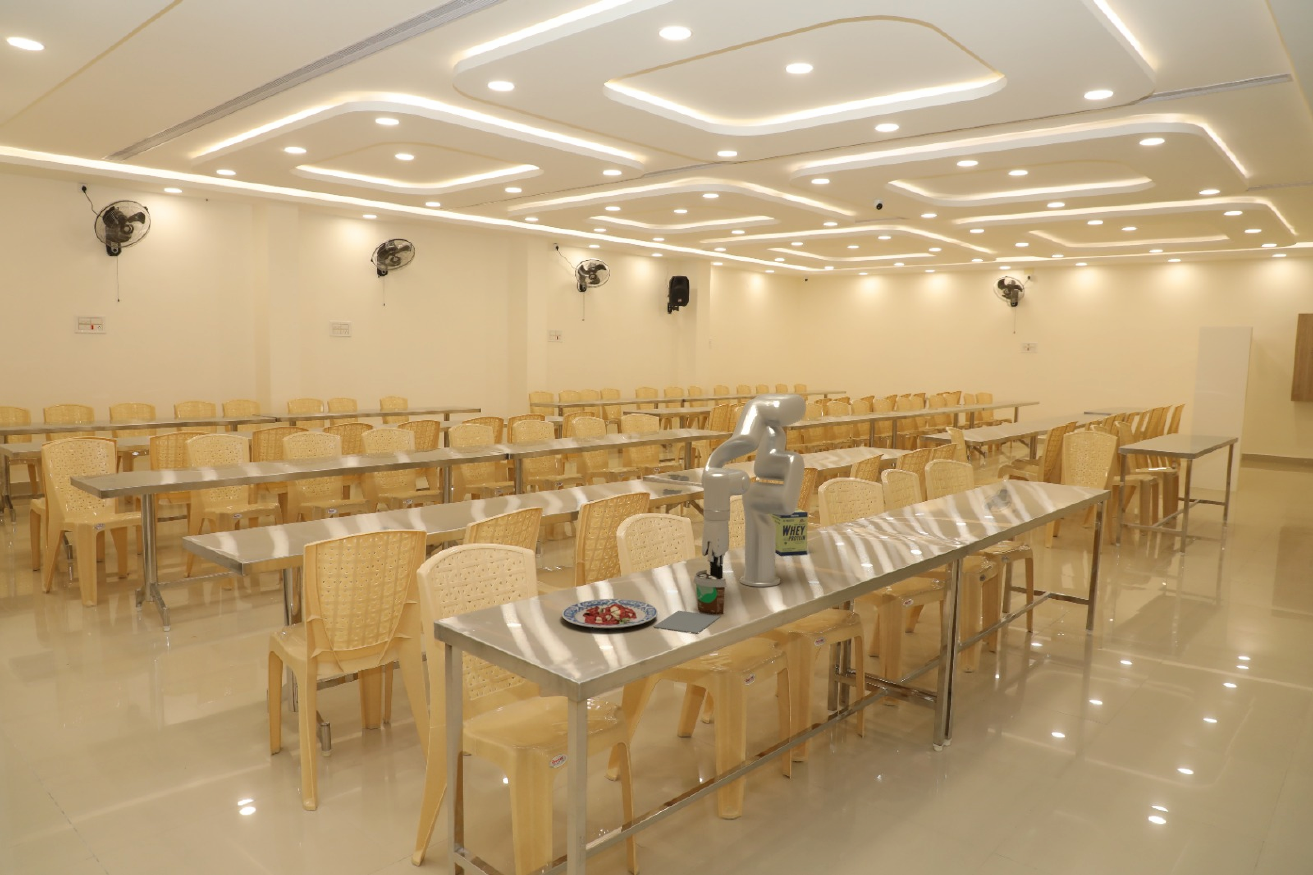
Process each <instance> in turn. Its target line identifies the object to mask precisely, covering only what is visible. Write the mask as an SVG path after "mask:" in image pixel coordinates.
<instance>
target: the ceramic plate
mask: <svg viewBox="0 0 1313 875" xmlns="http://www.w3.org/2000/svg"><path fill="white" fill-rule="evenodd" d="M658 612H659V611H658V609H657V608H656V607H655V606H654V605H651V604H649V603H646V602H644V601H639V600H633V599H628V598H627V599H625V598H600V599H591V600H585V601H581V602H577V603H574V604H571V605H569V606H567V607H566V608H564V609H563V610H562V612H561V617H562V618H563V619H564V620H566V621H567V622H568V623H570V624H573V625H578V626H581V627H587V628H592V627H593V629H607V630H612V629H613V630H614V629H624V628H628V627H632V626H637V625H638V626H639V625H642V624H644V623H647V622H650V621H652V620H654V619H655V618H656V617H657V616H658Z"/></svg>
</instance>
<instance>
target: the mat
mask: <svg viewBox="0 0 1313 875" xmlns="http://www.w3.org/2000/svg"><path fill="white" fill-rule="evenodd" d="M720 618H721V616H720V615H717V614H705V613H702V612H700V613H699V612H694V611H693V612H692V611H686V610H677V611H676V612H674V613H672V614H670V615H669V616H668V617H666V618H664V619H663V620H661V621H660V622H658V623H656V624H654V626H653V627H654V629H659V628H661V629H662V630H666V629H668V631H673V630H674V631H675V632H681V633H687V632H691V633H690V634H694V633H698V632H700V633H701V632H703V631H704V630H705V629H706V628H708V627H709V626H710V624H711V623H712V624H713V623H715V622H716V621H718V620H719V619H720ZM712 624H711V625H712ZM703 629H704V630H703ZM698 634H699V633H698Z"/></svg>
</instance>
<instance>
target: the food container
mask: <svg viewBox="0 0 1313 875" xmlns="http://www.w3.org/2000/svg"><path fill="white" fill-rule="evenodd" d="M693 583H694V584H695V587H696V600H697V601H696V602H697V611H698V612H700V613H701V614H708V615H723V614H724V613H725V612H724V610H725V609H724V608H725V595H726V594H725V592H726V587H727V583H726V578H722V579H718V578H717V577H716V576H712V575H710V573H708V570H707V569H703V570H700V571H699V570H698V572H696V573H695V575H694V578H693Z"/></svg>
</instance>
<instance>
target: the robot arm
mask: <svg viewBox="0 0 1313 875" xmlns="http://www.w3.org/2000/svg"><path fill="white" fill-rule="evenodd" d="M806 411H807V404H806V401H805V399H804V397H803V396H802V395H800V394H796V393H795V394H793V393H790V394H789V393H788V394H787V393H763V394H758V395H757V396H755V397H754V398H752V399H749V400H747V401H746V402H745V404H744V405H743V408H742V410H741V412H740V415H739V417H738V421H737V422H736V426H735V428H734V430H733V433H732V434H731V435H732V436H731V437H730V438H728V439H726V440H725V441H724V442H722V443H721V444H720V445H719V446H717V447H716V448H715V449H714V450H713V451H712V452H711V453H710V454H709V456H708V459H707V460H706V462H705V465H704V468H703V470H702V474H701V480H700V481H701V486H702V488H703V527H702V536H701V537H702V538H701V555H702V556H704V557H706V556H707V562H708V563H709V566H710V567H709V569H710V570H709V571H710V572H709V575H712V576H716V577H717V578H718V579H724V576H723V575H724V572H723V569H724V556H725V555H726V553H727V552H728V551H729V549H730V528H729V525H730V524H729V522H730V521H731V496H741V500H742V506H743V512H744V574H743V575H742V576H739V582H740V583H741V584H742V585H745V586H750V587H758V588H759V587H760V588H764V587H773V586H774V587H775V586H777V585H779V584H780V583H781V578H780V577H779V576H776V568H777V567H776V553H775V538H776V528H775V524H774V521H773V519H772V517H771V516H770V514H777V515H791V514H793V513H794V512H795V510H796V508H798V504H799V501H800V500H799V499H800V495H801V491H802V486H803V480H804V477H805V461H804V458H803V456H802V454H800V453H799V452H797V451H792V450H791V451H790V450H786V446H787V444H786V443H787V440H788V439H787V434H786V432H785V430H784V429H783V427H787V426H791V425H793V424H796V423H797V422H800V421H801V420H802V419H803V418H804V416H805V414H806ZM755 451H756V454H755V458H754V464H753V474H754V475H755V477H756V478H758V479H761V480H767V481H779V482H783V483H776V482H766V481H764V482H763V481H751V477H750V475H749V474H748V473H747V472H746V471H745V470H742V469H737V468H736V469H735V468H728V467H727V468H726V467H724V466H725V465H727V464H728V463H729V462H731V461H733V460H735V459H738V458H740V457H741V458H742V457H744V456H746V455H748V454H751V453H753V452H755Z"/></svg>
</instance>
